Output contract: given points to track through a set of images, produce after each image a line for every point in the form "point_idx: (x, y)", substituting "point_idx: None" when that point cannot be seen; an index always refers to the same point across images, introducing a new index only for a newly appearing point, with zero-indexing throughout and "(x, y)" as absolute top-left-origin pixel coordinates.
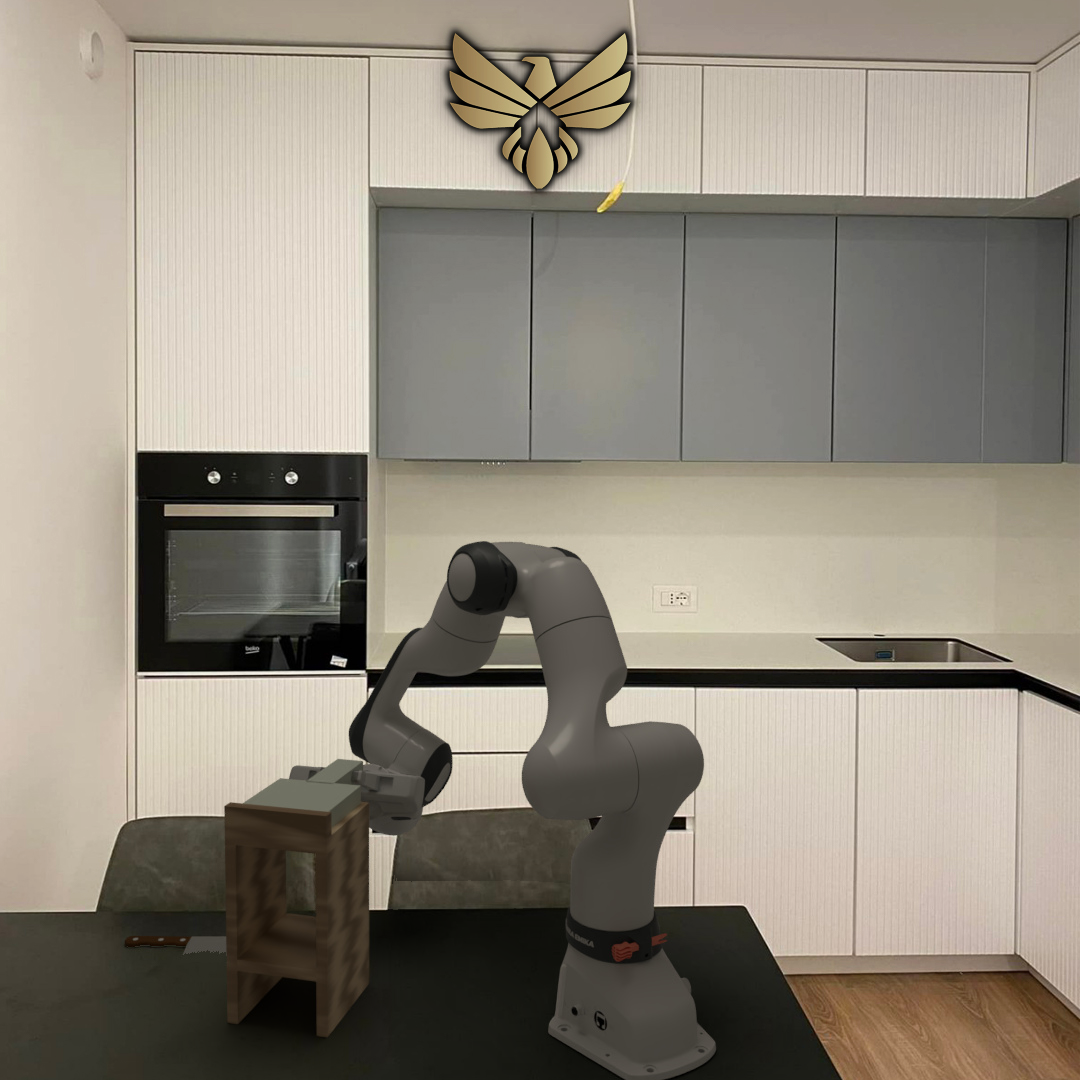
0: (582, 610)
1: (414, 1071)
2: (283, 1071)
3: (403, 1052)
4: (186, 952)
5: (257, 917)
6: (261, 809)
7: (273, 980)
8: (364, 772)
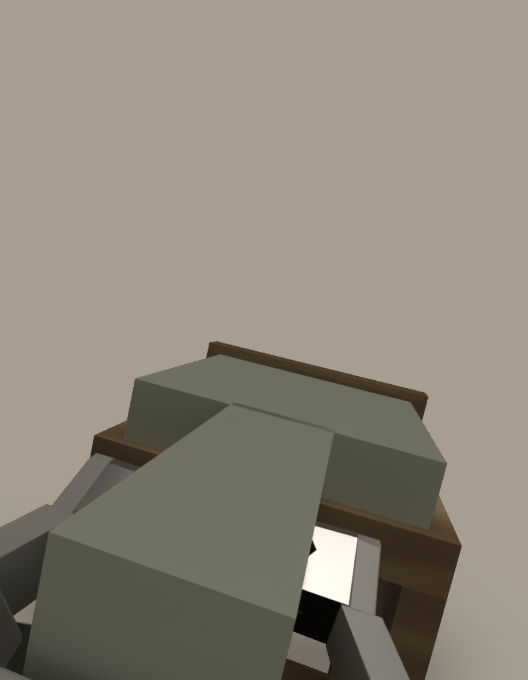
0: None
1: (23, 623)
2: None
3: (22, 662)
4: None
5: None
6: (344, 373)
7: None
8: (74, 480)
